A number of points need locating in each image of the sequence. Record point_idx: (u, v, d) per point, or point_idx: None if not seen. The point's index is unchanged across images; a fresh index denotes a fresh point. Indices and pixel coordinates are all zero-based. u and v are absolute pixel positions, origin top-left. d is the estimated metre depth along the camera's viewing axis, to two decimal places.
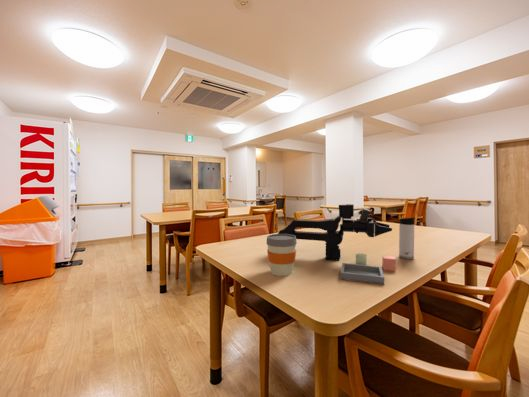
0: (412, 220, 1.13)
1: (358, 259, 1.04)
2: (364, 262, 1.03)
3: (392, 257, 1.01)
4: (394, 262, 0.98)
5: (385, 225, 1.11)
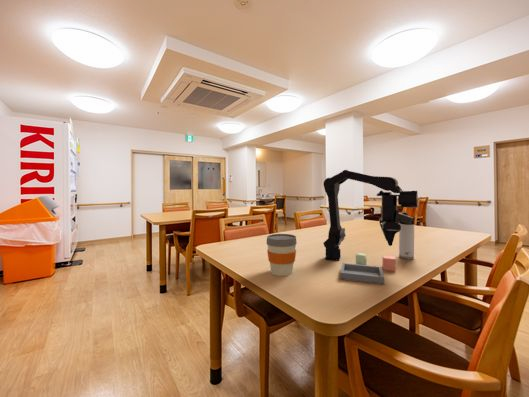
0: (412, 220, 1.13)
1: (358, 259, 1.04)
2: (364, 262, 1.03)
3: (392, 257, 1.01)
4: (394, 262, 0.98)
5: None
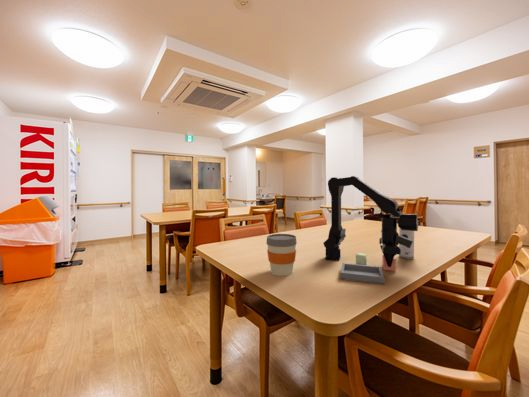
0: None
1: (358, 259, 1.04)
2: (364, 262, 1.03)
3: None
4: (394, 262, 0.98)
5: None
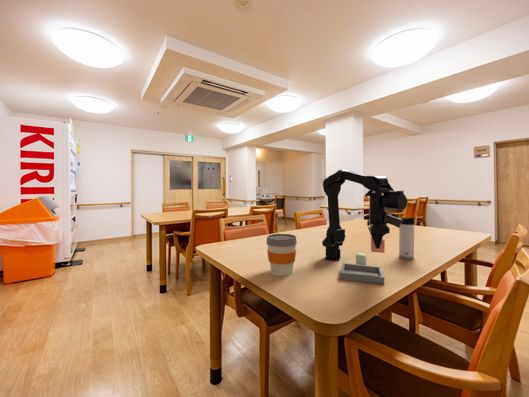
0: (412, 220, 1.13)
1: (358, 259, 1.04)
2: (364, 262, 1.03)
3: None
4: (383, 243, 0.91)
5: None
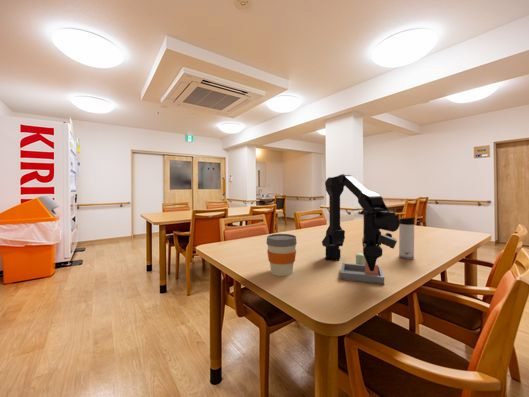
0: (412, 220, 1.13)
1: (358, 259, 1.04)
2: (364, 262, 1.03)
3: None
4: (377, 269, 0.89)
5: None
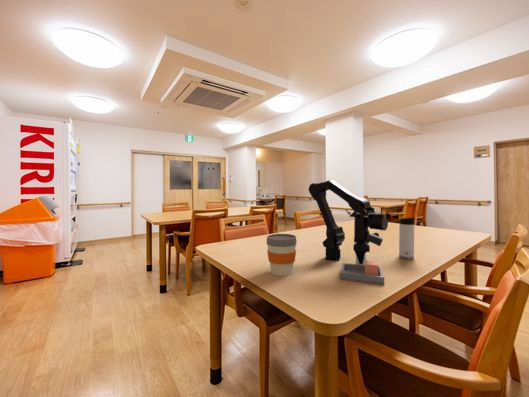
0: (412, 220, 1.13)
1: None
2: (364, 262, 1.03)
3: (375, 263, 0.91)
4: (377, 269, 0.89)
5: None
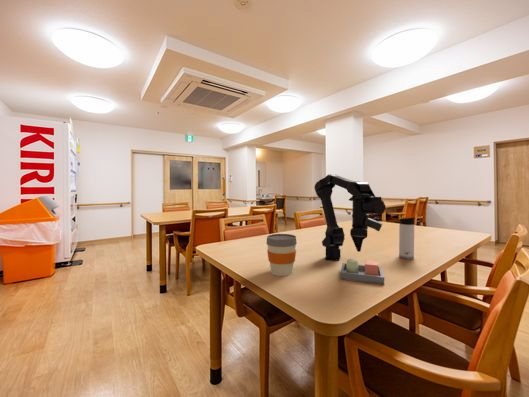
0: (412, 220, 1.13)
1: (348, 266, 0.93)
2: (355, 270, 0.92)
3: (375, 263, 0.91)
4: (377, 269, 0.89)
5: None
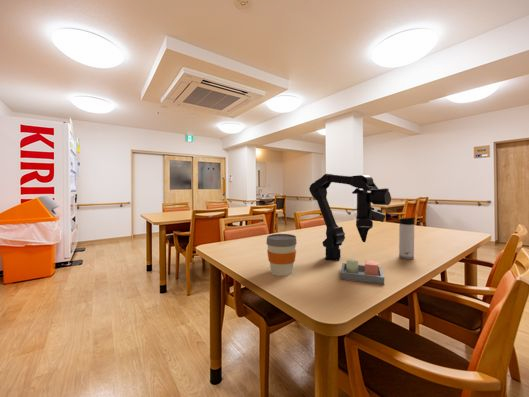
0: (412, 220, 1.13)
1: (348, 266, 0.93)
2: (355, 269, 0.92)
3: (375, 263, 0.91)
4: (377, 269, 0.89)
5: None
